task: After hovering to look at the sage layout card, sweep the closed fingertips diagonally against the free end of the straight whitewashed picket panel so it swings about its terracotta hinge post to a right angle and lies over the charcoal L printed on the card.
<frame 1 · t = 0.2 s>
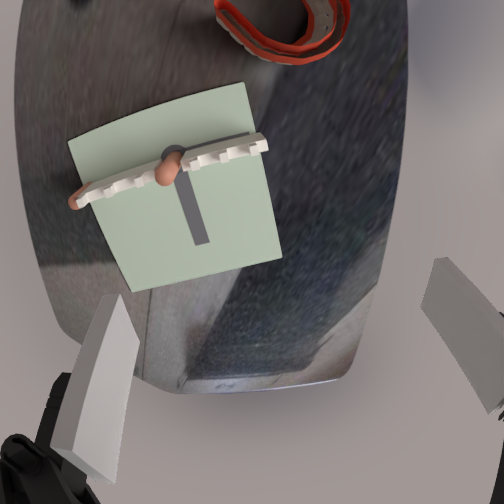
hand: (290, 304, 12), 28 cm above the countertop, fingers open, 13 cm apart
swing panel: (113, 184, 32), point 4 cm above the countertop, hinge at 0.0°
toy: (282, 27, 28), on the countertop
fixed fence: (175, 158, 35), resting on layout card
layout card: (176, 198, 38), on the countertop
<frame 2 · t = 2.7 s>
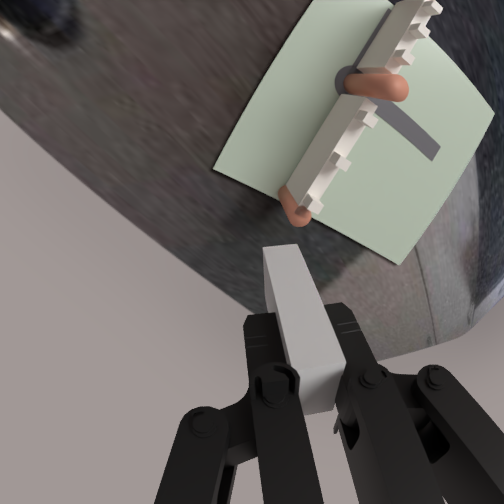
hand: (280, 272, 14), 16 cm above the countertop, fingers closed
swing panel: (325, 158, 23), point 4 cm above the countertop, hinge at 0.0°
fixed fence: (351, 84, 23), resting on layout card
layout card: (383, 126, 26), on the countertop
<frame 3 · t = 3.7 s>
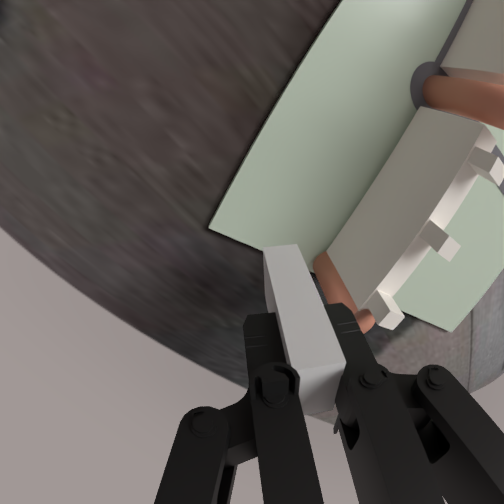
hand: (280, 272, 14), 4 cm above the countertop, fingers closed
swing panel: (404, 221, 13), point 4 cm above the countertop, hinge at 0.0°
fixed fence: (431, 91, 13), resting on layout card
layout card: (465, 158, 15), on the countertop
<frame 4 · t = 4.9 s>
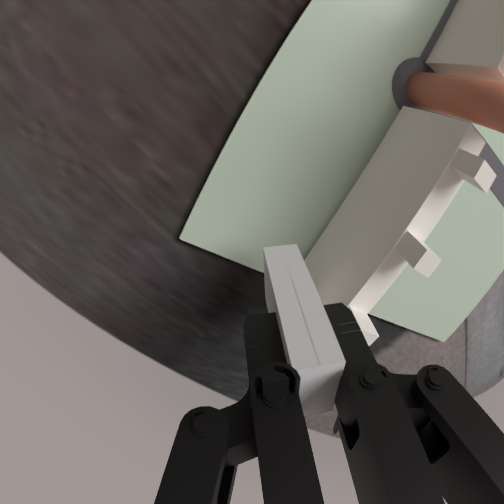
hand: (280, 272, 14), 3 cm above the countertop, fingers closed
swing panel: (382, 231, 12), point 4 cm above the countertop, hinge at 0.0°, touching gripper
fixed fence: (416, 89, 13), resting on layout card
layout card: (456, 161, 15), on the countertop
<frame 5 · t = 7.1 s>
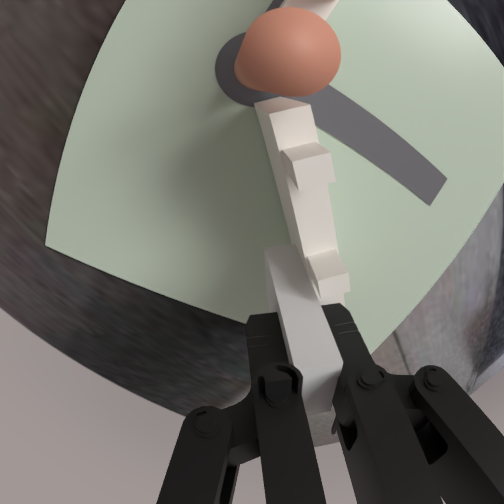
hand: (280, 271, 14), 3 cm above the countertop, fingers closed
swing panel: (312, 246, 12), point 4 cm above the countertop, hinge at 43.8°, touching gripper
fixed fence: (256, 68, 12), resting on layout card
layout card: (332, 146, 14), on the countertop
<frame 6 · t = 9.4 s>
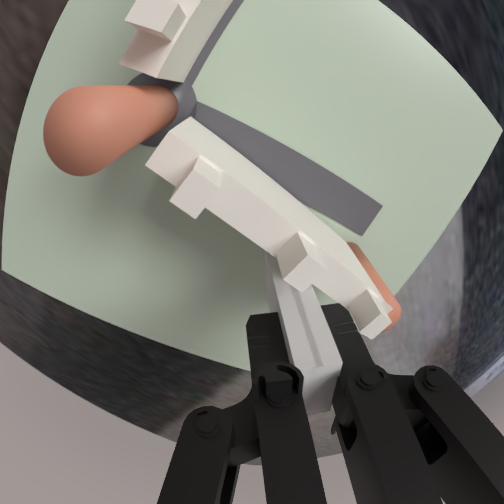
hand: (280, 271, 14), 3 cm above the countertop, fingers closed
swing panel: (294, 232, 12), point 4 cm above the countertop, hinge at 78.5°, touching gripper
fixed fence: (158, 107, 12), resting on layout card
layout card: (240, 180, 14), on the countertop
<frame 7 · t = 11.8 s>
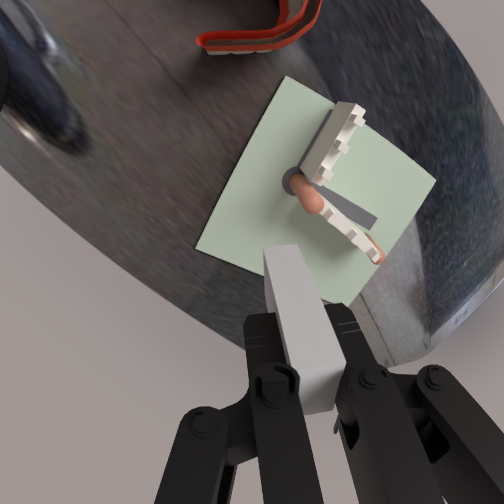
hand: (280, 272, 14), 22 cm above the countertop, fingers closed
swing panel: (348, 228, 34), point 4 cm above the countertop, hinge at 78.7°
toy: (257, 10, 25), on the countertop
fixed fence: (296, 180, 35), resting on layout card
layout card: (324, 209, 37), on the countertop
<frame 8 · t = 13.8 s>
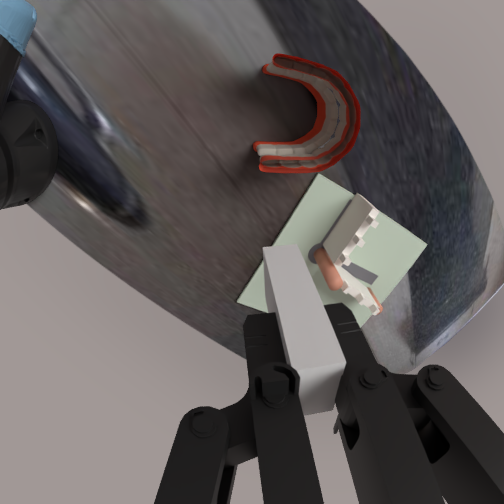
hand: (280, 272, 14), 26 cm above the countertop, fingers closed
swing panel: (356, 290, 45), point 4 cm above the countertop, hinge at 78.7°
toy: (298, 112, 35), on the countertop
fixed fence: (319, 252, 45), resting on layout card
layout card: (338, 271, 47), on the countertop
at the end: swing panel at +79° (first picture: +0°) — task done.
